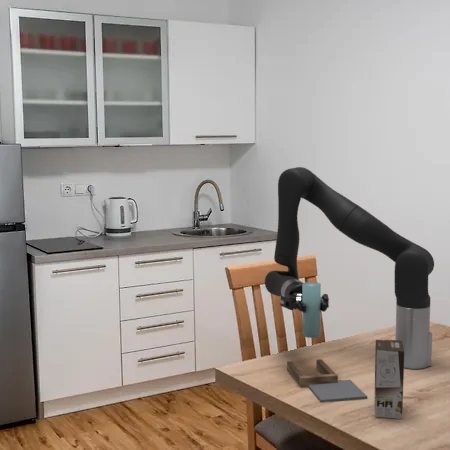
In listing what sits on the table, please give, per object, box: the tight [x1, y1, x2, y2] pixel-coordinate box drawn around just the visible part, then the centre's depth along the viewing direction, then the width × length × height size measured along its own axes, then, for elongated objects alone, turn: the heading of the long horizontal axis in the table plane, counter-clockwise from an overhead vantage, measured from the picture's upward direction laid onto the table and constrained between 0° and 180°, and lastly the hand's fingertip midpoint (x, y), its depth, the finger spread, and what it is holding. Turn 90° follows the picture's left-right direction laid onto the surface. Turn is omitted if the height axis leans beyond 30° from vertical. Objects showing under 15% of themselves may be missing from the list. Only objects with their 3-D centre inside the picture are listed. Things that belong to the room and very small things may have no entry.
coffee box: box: [374, 339, 405, 420], centre depth 162 cm, size 9×6×16 cm
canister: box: [301, 281, 322, 339], centre depth 184 cm, size 5×5×14 cm
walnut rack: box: [286, 358, 339, 388], centre depth 185 cm, size 10×14×2 cm
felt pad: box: [307, 379, 368, 403], centre depth 175 cm, size 12×12×1 cm
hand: (314, 308), depth 181 cm, fingers closed on canister, 4 cm apart
